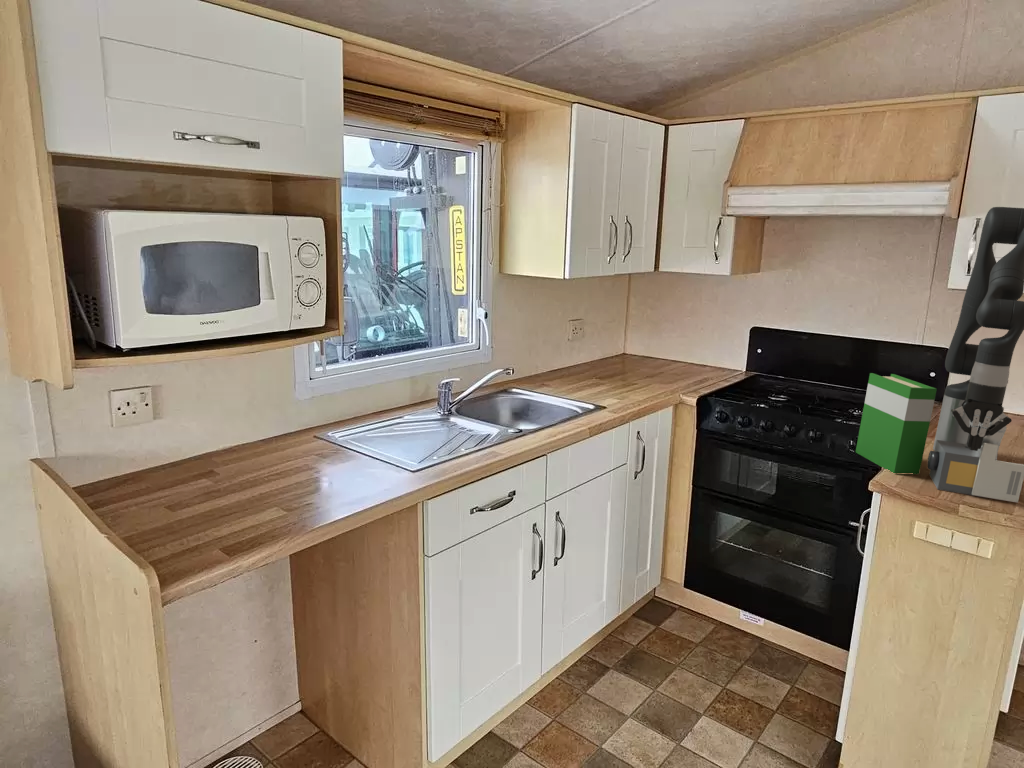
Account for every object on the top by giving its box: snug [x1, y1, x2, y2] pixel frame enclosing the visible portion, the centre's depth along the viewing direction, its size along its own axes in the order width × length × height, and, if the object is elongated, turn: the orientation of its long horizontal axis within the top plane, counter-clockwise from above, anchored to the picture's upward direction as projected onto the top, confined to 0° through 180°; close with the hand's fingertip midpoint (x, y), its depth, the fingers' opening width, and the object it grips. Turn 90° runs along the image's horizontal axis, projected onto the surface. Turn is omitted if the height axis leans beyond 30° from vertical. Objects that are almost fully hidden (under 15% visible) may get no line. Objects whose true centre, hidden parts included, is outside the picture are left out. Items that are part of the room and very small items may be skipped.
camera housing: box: [926, 440, 983, 498], centre depth 178 cm, size 12×12×11 cm
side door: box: [971, 443, 1024, 503], centre depth 169 cm, size 1×10×14 cm, turn 68°
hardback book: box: [855, 372, 937, 475], centre depth 192 cm, size 18×7×24 cm, turn 6°
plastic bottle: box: [976, 406, 1007, 461], centre depth 185 cm, size 6×7×20 cm
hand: (972, 449), depth 170 cm, fingers closed
